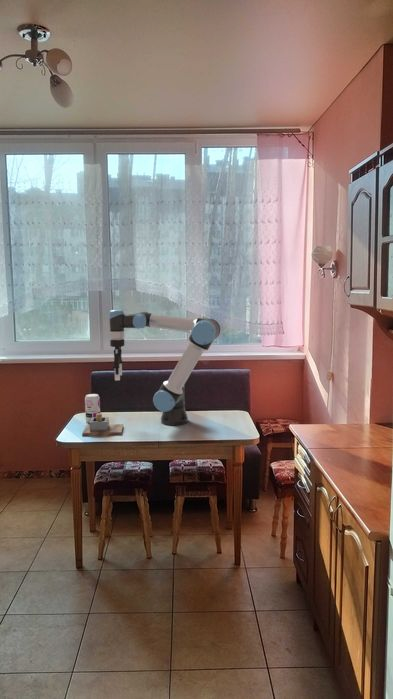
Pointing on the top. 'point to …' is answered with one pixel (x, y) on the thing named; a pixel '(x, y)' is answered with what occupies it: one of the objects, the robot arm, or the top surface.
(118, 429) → the keeper plate
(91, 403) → the supplement can
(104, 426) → the grey square socket block
